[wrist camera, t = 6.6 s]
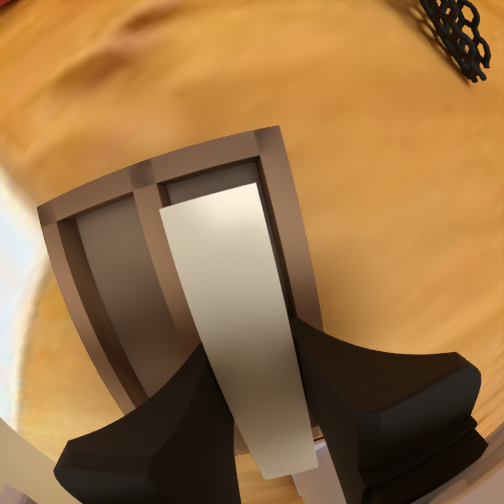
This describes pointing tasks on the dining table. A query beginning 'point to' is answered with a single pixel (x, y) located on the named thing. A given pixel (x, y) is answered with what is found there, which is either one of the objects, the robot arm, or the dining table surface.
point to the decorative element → (459, 35)
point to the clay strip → (243, 323)
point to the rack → (165, 257)
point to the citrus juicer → (4, 2)
